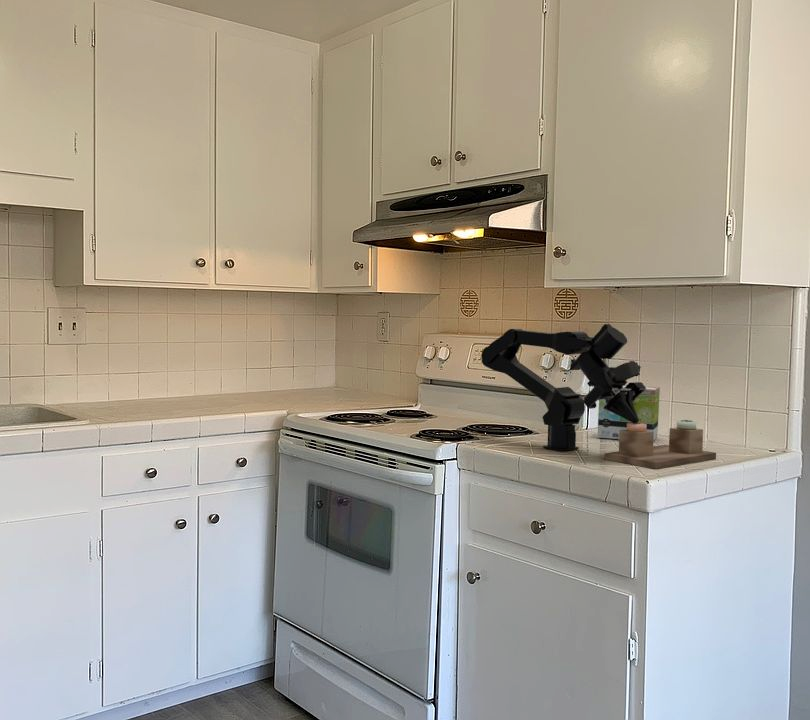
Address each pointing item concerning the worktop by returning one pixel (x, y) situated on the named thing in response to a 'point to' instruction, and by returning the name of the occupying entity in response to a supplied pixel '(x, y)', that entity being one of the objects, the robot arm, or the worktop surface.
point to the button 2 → (686, 424)
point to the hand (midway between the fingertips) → (636, 422)
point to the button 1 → (636, 427)
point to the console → (660, 449)
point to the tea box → (644, 409)
